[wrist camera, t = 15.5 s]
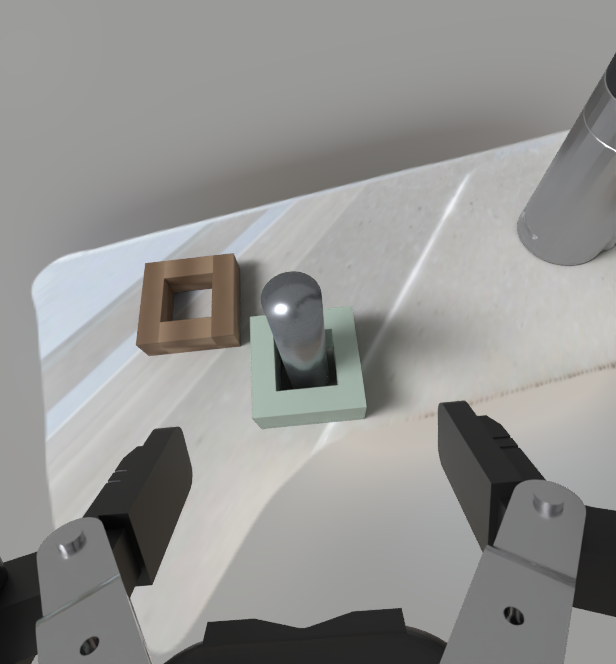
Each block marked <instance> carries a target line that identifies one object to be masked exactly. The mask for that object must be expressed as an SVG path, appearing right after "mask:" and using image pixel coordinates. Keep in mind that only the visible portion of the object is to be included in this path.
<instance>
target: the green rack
mask: <svg viewBox="0 0 616 664" xmlns="http://www.w3.org/2000/svg"><path fill="white" fill-rule="evenodd" d="M323 317H324V328H325V339H326V348H329V347H333V353H334V362H335V371H336V379H337V385H335V386H325V387H315V388H305V389H295V390H285V391H282V384H281V365H280V353H279V350H278V348H277V345H276V342H275V340H274V337H273V334H272V331H271V329H270V326H269V323H268V321H267V318H266V315H262V316H253V317H250V345H251V396H252V419H253V420H254V421H255V422H256V423H257V425H258V426H259V427H260V428H261V429H265V428H276V427H286V426H296V425H307V424H317V423H327V422H337V421H348V420H358V419H364V417H365V413H366V408H367V405H366V398H365V392H364V385H363V378H362V371H361V364H360V357H359V350H358V344H357V337H356V330H355V323H354V316H353V309H352V306H346V307H337V308H327V309H323Z"/></svg>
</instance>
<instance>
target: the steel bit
mask: <svg viewBox="0 0 616 664" xmlns="http://www.w3.org/2000/svg"><path fill="white" fill-rule="evenodd" d="M261 304H262V307H263V310H264V313H265V315H266V318H267V321H268V323H269V326H270V329H271V331H272V334H273V337H274V340H275V342H276V345H277V348H278V350H279V353H280V356H281V358H282V361H283V364H284V366H285V369H286V372H287V374H288V377H289V380H290V382H291V385H292V387H293V388H294V389H305V388H315V387H325V386H326V385H327V382H328V379H329V373H328V361H327V350H326V339H325V328H324V317H323V305H322V294H321V289H320V287H319V285H318V283H317V282H316V281H315V280H314V279H313V278H312V277H311V276H309V275H307V274H305V273H301V272H285V273H282V274H279V275H277V276H275V277H274V278H272V279H271V280H270V281H269V282H268V283H267V284H266V286H265V287H264V289H263V292H262V296H261Z"/></svg>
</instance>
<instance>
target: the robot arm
mask: <svg viewBox="0 0 616 664" xmlns="http://www.w3.org/2000/svg"><path fill="white" fill-rule="evenodd" d="M517 231H518V235H519V238H520V239H521V241H522V243H523V244H524V246H525V247H526V248H527V249H528V250H529V251H530V252H532V253H533V254H534V255H536V256H537V257H539V258H541V259H542V260H545V261H548V262H550V263H554V264H559V265H578V264H582V263H585V262H588V261H590V260H591V259H593V258H595V257H596V256H597V255H598V254H599V253H600V252H601V251H603V250H609V249H611V248H612V247H613V246H614V245H615V244H616V54H615V55H614V57H613V59H612V61H611V62H610V64H609V66H608V67H607V69H606V71H605V72H604V74H603V76H602V77H601V79H600V81H599V83H598V84H597V86H596V88H595V89H594V91H593V93H592V95H591V96H590V98H589V100H588V102H587V103H586V105H585V107H584V108H583V110H582V112H581V114H580V115H579V117H578V119H577V120H576V122H575V124H574V125H573V127H572V129H571V130H570V132H569V134H568V135H567V137H566V139H565V141H564V142H563V144H562V146H561V147H560V149H559V151H558V152H557V154H556V156H555V158H554V159H553V161H552V163H551V164H550V166H549V168H548V169H547V171H546V173H545V175H544V176H543V178H542V180H541V181H540V183H539V185H538V186H537V188H536V190H535V191H534V193H533V195H532V197H531V198H530V200H529V202H528V203H527V205H526V207H525V208H524V210H523V212H522V214H521V215H520V217H519V220H518V223H517ZM438 451H439V457H440V461H441V465H442V467H443V469H444V471H445V474H446V476H447V478H448V480H449V482H450V484H451V486H452V488H453V490H454V493H455V495H456V497H457V499H458V501H459V503H460V505H461V507H462V509H463V512H464V514H465V516H466V518H467V520H468V522H469V524H470V526H471V529H472V531H473V533H474V535H475V537H476V539H477V541H478V543H479V545H480V547H481V550H482V551H483V554H482V557H481V559H480V562H479V564H478V567H477V569H476V572H475V575H474V577H473V580H472V582H471V585H470V588H469V590H468V593H467V595H466V597H465V600H464V603H463V605H462V608H461V610H460V613H459V615H458V618H457V621H456V623H455V626H454V628H453V631H452V633H451V636H450V638H449V641H448V643H446V642H444V641H443V640H441V639H440V638H438V637H436V636H434V635H432V634H430V633H428V632H425V631H422V630H419V629H417V628H413V627H409V626H405V622H404V618H403V613H402V608H398V609H397V608H396V609H382V610H368V611H355V612H351V613H348V614H345V615H342V616H339V617H336V618H333V619H331V620H328V621H325V622H322V623H319V624H316V625H313V626H311V627H307V628H296V627H291V626H287V625H282V624H277V623H272V622H268V621H263V620H258V619H245V620H230V621H216V622H208V623H207V627H206V631H205V635H204V639H203V641H202V642H199V643H196V644H194V645H192V646H190V647H188V648H186V649H184V650H183V651H181V652H180V653H178V654H176V655H175V656H173V657H172V658H171V659H170V660H168V661H167V662H165V663H164V664H564V658H565V652H566V645H567V638H568V632H569V625H570V618H571V612H572V607H575V608H579V609H584V610H588V611H592V612H597V613H601V614H605V615H610V616H614V617H616V511H614V510H608V509H601V508H595V507H590V506H586V505H584V504H583V502H582V500H581V499H580V498H579V497H578V496H577V495H576V494H575V493H573V492H572V491H571V490H569V489H567V488H566V487H564V486H561V485H559V484H556V483H554V482H550V481H546V480H545V479H544V477H543V476H542V475H541V473H540V472H539V471H538V470H537V469H536V467H535V466H534V465H533V464H532V463H531V461H530V460H529V459H528V457H527V456H526V455H525V454H524V452H523V451H522V450H521V449H520V448H518V445H517V444H516V443H515V441H514V440H513V439H512V438H510V435H509V434H508V433H507V431H506V430H505V429H504V428H503V426H502V425H501V424H499V423H497V422H496V421H495V420H493V419H491V418H489V417H488V416H486V415H485V416H477V415H476V414H475V413H474V411H473V410H472V409H471V407H470V406H469V404H468V403H467V402H466V401H454V402H444V403H440V404H439V406H438ZM191 485H192V466H191V462H190V458H189V455H188V451H187V447H186V443H185V439H184V435H183V432H182V429H181V428H180V427H169V428H158V429H154V430H153V431H152V432H151V434H150V436H149V437H148V439H147V440H146V442H145V443H144V445H143V446H138V447H136V448H135V449H134V450H133V451H131V452H130V453H129V454H128V455H127V456H125V457H124V458H123V459H122V461H121V462H120V464H119V465H118V467H117V468H116V470H115V473H113V474H112V475H111V477H110V478H109V480H108V483H106V484H105V486H104V487H103V489H102V490H101V491H100V493H99V494H98V496H97V497H96V499H95V500H94V502H93V503H92V505H91V506H90V507H89V509H88V510H87V512H86V513H85V515H84V516H83V518H80V519H77V520H74V521H71V522H69V523H67V524H65V525H63V526H61V527H60V528H58V529H57V530H55V531H54V532H53V533H51V534H50V535H49V536H48V537H47V538H46V539H45V540H44V541H43V543H42V544H41V546H40V547H39V550H38V552H35V553H32V554H29V555H25V556H22V557H19V558H17V559H13V560H10V561H7V562H4V563H3V562H2V559H1V558H0V664H31V663H32V661H33V659H34V657H35V655H37V654H38V662H39V664H153V662H152V659H151V657H150V654H149V651H148V648H147V645H146V642H145V639H144V636H143V634H142V631H141V628H140V625H139V622H138V619H137V616H136V613H135V611H134V608H133V605H132V602H131V599H130V597H131V594H132V592H133V590H134V587H135V586H147V585H153V582H154V579H155V577H156V574H157V572H158V569H159V567H160V564H161V562H162V559H163V557H164V554H165V552H166V549H167V547H168V544H169V542H170V539H171V537H172V534H173V531H174V529H175V526H176V524H177V521H178V519H179V516H180V514H181V511H182V509H183V506H184V504H185V501H186V499H187V496H188V494H189V491H190V488H191Z"/></svg>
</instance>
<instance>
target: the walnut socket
mask: <svg viewBox="0 0 616 664" xmlns="http://www.w3.org/2000/svg"><path fill="white" fill-rule="evenodd" d="M210 288H212V316H211V317H205V318H195V319H186V320H177V321H172V318H173V304H174V292H183V291H192V290H201V289H210ZM136 345H137V346H138V347H139V348H140V349H141V350H143V351H144V352H145V353H146V354H147V355H148V356H153V355H162V354H172V353H181V352H191V351H200V350H210V349H219V348H229V347H238V346H240V268H239V265H238V263H237V261H236V258H235V256H234V253H232V254H223V255H214V256H205V257H197V258H188V259H179V260H170V261H161V262H153V263H145V271H144V279H143V288H142V297H141V305H140V314H139V323H138V331H137V340H136Z"/></svg>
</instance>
